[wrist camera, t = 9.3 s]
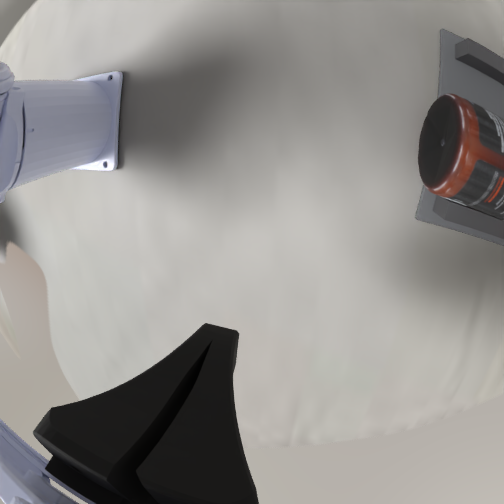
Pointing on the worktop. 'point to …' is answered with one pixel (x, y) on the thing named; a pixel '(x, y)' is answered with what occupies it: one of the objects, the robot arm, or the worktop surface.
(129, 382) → the robot arm
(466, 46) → the mat
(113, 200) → the worktop surface
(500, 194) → the supplement bottle
